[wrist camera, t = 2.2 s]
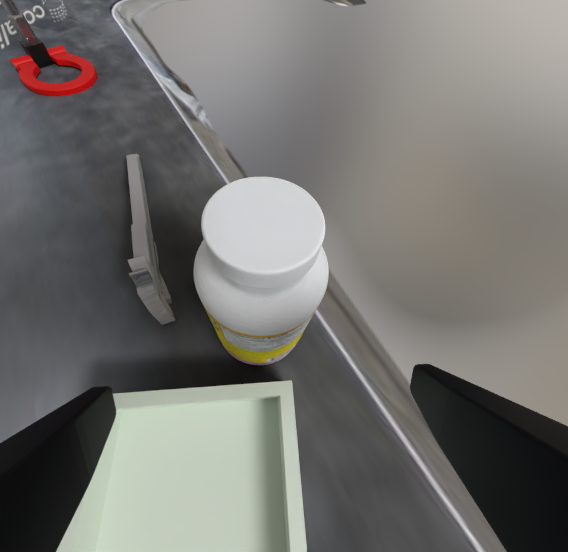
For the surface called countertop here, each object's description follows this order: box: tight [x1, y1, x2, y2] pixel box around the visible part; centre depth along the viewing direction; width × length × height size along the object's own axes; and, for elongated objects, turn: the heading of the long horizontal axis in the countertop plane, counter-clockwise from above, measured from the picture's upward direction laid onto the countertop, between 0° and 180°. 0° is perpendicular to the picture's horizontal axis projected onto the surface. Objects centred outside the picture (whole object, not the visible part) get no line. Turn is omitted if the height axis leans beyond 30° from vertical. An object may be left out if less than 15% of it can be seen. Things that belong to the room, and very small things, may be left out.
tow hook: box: [0, 0, 97, 96], centre depth 29 cm, size 8×13×9 cm
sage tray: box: [56, 380, 307, 552], centre depth 14 cm, size 12×12×3 cm
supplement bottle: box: [193, 177, 329, 365], centre depth 15 cm, size 7×7×13 cm
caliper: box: [126, 154, 176, 325], centre depth 22 cm, size 20×1×6 cm, turn 22°
